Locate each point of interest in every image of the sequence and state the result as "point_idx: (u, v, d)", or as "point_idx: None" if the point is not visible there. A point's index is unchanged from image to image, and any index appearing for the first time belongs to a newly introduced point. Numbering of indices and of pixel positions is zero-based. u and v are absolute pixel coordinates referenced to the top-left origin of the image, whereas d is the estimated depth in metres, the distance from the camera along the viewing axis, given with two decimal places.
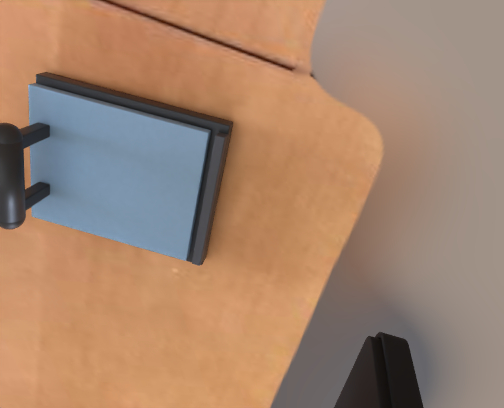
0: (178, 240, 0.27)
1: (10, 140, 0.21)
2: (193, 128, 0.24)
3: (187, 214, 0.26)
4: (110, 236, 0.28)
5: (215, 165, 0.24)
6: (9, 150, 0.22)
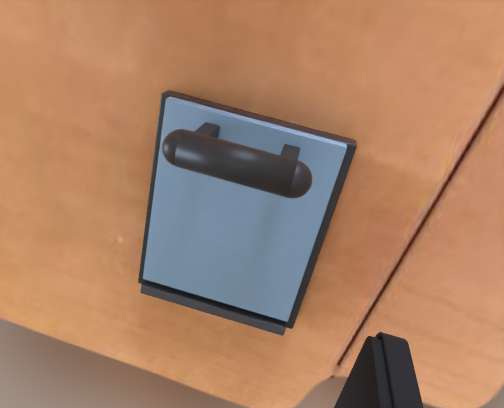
0: (165, 276, 0.24)
1: (291, 197, 0.17)
2: (291, 310, 0.24)
3: (198, 290, 0.24)
4: (156, 202, 0.22)
5: (255, 324, 0.25)
6: (278, 194, 0.17)
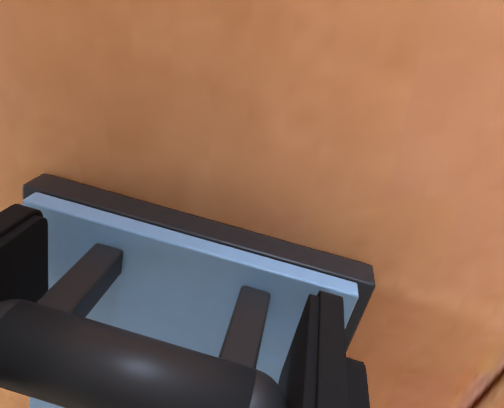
0: None
1: None
2: None
3: None
4: None
5: None
6: None
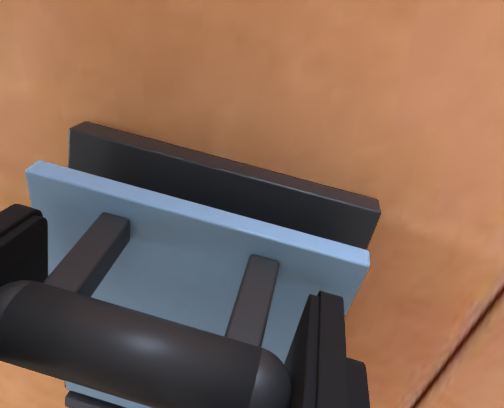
0: (96, 390, 0.17)
1: None
2: None
3: None
4: None
5: None
6: None
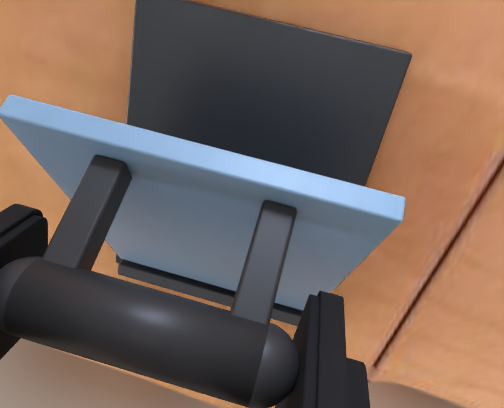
0: (145, 262, 0.18)
1: None
2: None
3: (191, 276, 0.18)
4: None
5: None
6: None
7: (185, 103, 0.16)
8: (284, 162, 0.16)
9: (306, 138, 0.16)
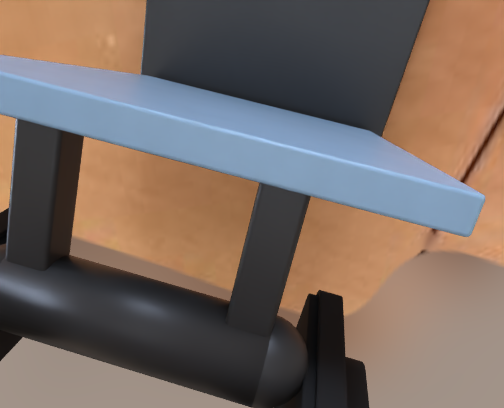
0: None
1: None
2: None
3: None
4: None
5: None
6: None
7: None
8: None
9: None
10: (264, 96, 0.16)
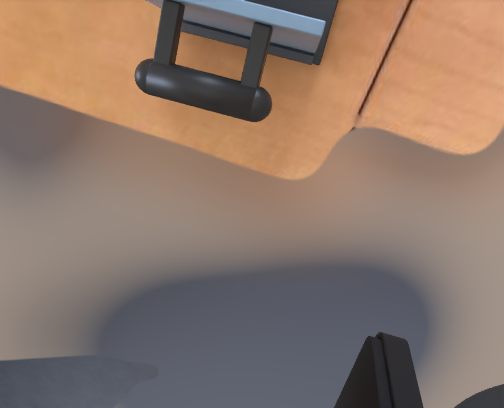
0: (200, 23, 0.27)
1: None
2: (315, 51, 0.26)
3: None
4: (160, 7, 0.22)
5: (286, 54, 0.27)
6: None
7: None
8: None
9: None
10: None
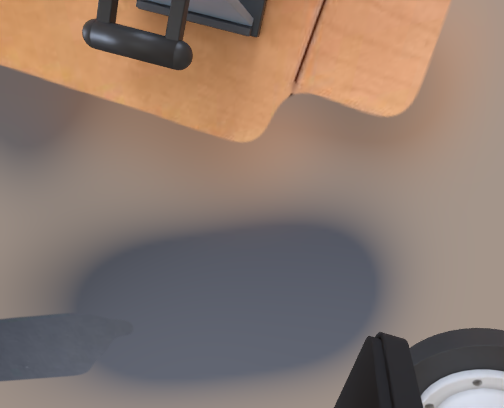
0: (153, 0, 0.31)
1: None
2: (250, 24, 0.31)
3: None
4: None
5: (227, 27, 0.32)
6: None
7: None
8: None
9: None
10: None
